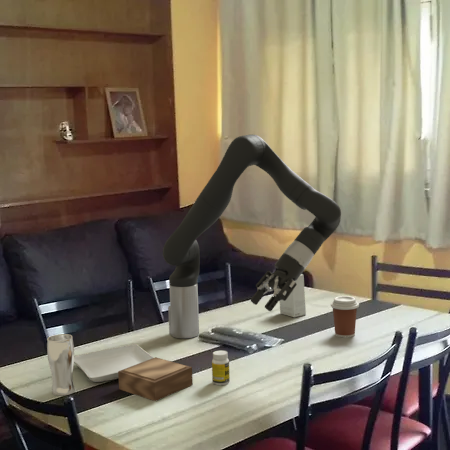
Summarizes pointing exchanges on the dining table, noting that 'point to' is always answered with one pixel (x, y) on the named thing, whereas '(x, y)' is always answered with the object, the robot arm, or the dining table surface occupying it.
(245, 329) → the dining table surface
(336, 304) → the coffee cup
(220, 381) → the supplement bottle
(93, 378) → the salad plate
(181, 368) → the pedestal
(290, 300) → the skincare box
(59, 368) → the beer glass
